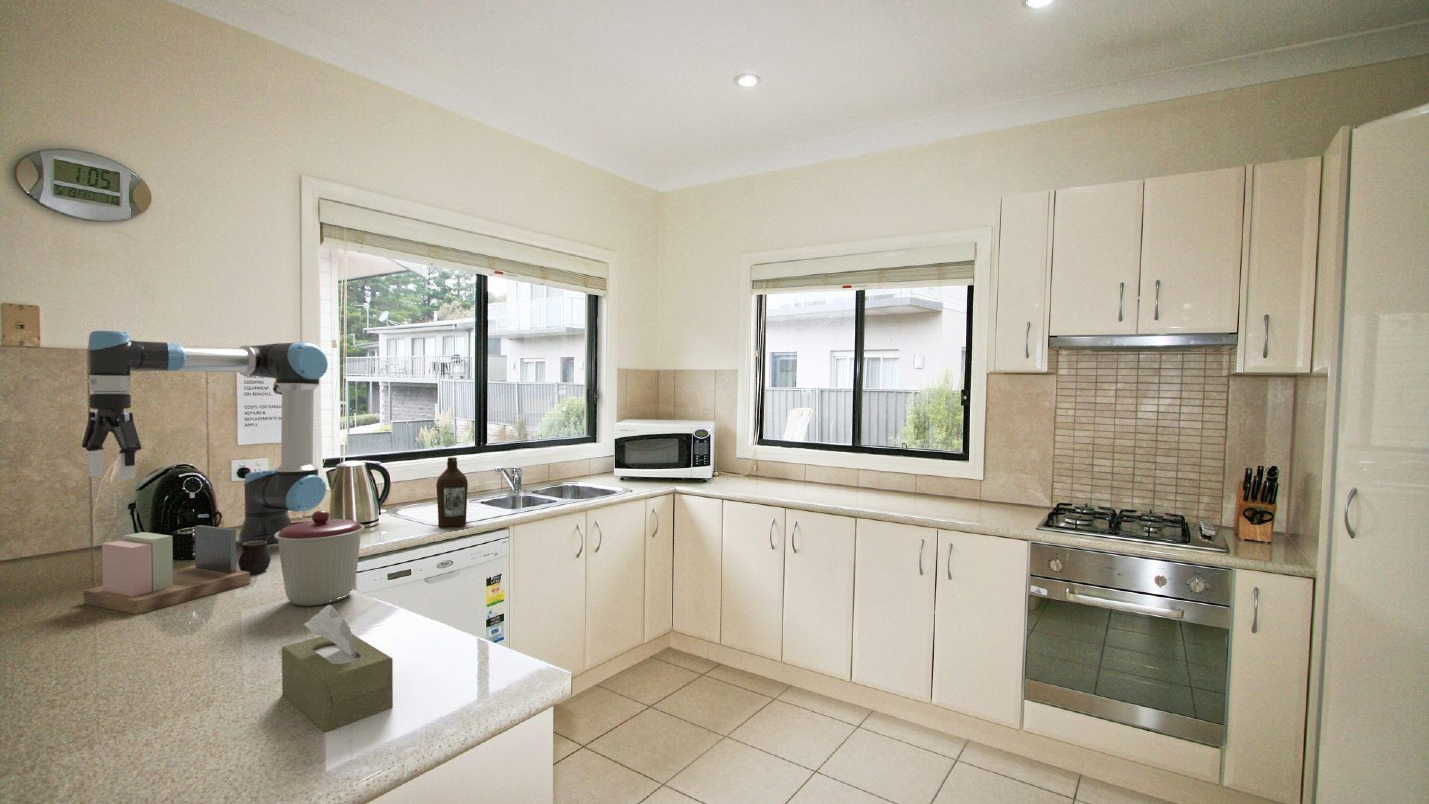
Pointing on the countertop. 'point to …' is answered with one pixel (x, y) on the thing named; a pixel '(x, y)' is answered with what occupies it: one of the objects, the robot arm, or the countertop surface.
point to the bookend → (215, 548)
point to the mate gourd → (254, 557)
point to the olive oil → (452, 496)
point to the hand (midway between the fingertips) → (111, 477)
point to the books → (138, 564)
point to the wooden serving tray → (170, 590)
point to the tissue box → (336, 674)
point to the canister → (319, 559)
